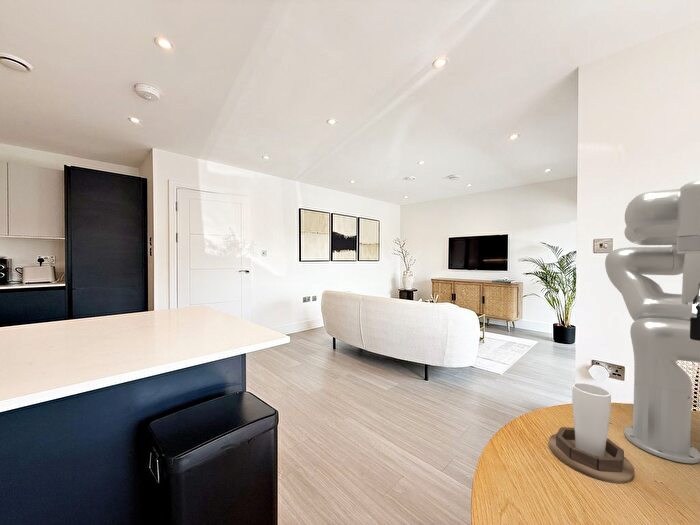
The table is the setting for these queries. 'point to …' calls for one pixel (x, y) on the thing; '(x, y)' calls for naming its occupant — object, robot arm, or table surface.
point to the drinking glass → (591, 417)
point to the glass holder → (592, 458)
